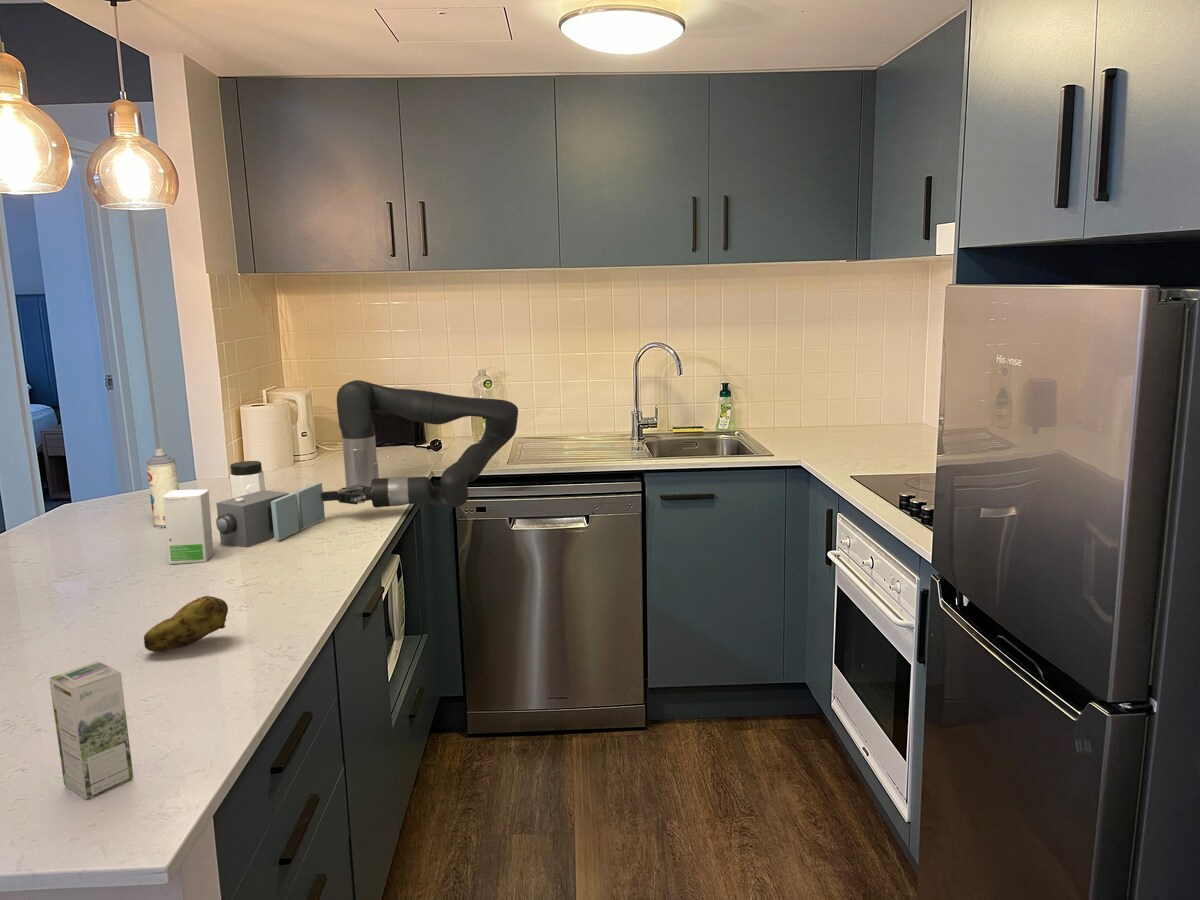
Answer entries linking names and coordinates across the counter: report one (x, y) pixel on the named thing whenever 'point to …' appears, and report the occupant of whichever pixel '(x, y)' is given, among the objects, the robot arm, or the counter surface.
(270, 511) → the block
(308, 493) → the side door
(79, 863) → the counter surface
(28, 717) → the counter surface
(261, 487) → the jar
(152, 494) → the aerosol can
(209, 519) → the skincare box
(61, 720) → the syrup box
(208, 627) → the potato
